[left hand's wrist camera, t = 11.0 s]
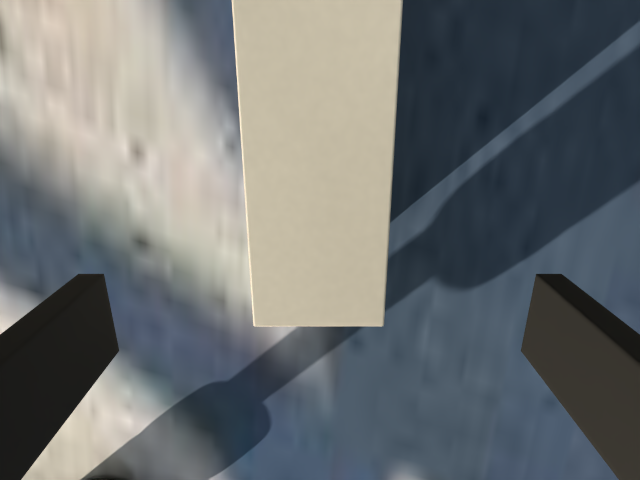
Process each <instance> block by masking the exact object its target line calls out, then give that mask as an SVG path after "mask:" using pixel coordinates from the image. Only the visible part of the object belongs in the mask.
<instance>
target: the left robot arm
mask: <svg viewBox="0 0 640 480" xmlns="http://www.w3.org/2000/svg"><path fill="white" fill-rule="evenodd" d="M118 352H119V348H118V343H117V338H116V333H115V328H114V323H113V318H112V313H111V308H110V303H109V298H108V293H107V288H106V282H105V277H104V274H78V275H77V276H75V277H74V278H73V279H71V280H70V281H69V282H68V283H66V284H65V285H64V286H62V287H61V288H60V289H59V290H57V291H56V292H55V293H53V294H52V295H51V296H50V297H48V298H47V299H46V300H44V301H43V302H42V303H41V304H39V305H38V306H37V307H35V308H34V309H33V310H31V311H30V312H29V313H28V314H26V315H25V316H24V317H22V318H21V319H20V320H19V321H17V322H16V323H15V324H13V325H12V326H11V327H10V328H8V329H7V330H6V331H4V332H3V333H2V334H1V335H0V480H21V479H22V478H23V476H24V475H25V474H26V472H27V471H28V470H29V468H30V467H31V466H32V464H33V463H34V462H35V461H36V459H37V458H38V457H39V455H40V454H41V453H42V451H43V450H44V449H45V447H46V446H47V445H48V443H49V442H50V441H51V440H52V438H53V437H54V436H55V434H56V433H57V432H58V430H59V429H60V428H61V426H62V425H63V424H64V422H65V421H66V420H67V419H68V417H69V416H70V415H71V413H72V412H73V411H74V409H75V408H76V407H77V405H78V404H79V403H80V401H81V400H82V399H83V397H84V396H85V395H86V394H87V392H88V391H89V390H90V388H91V387H92V386H93V384H94V383H95V382H96V380H97V379H98V378H99V376H100V375H101V374H102V373H103V371H104V370H105V369H106V367H107V366H108V365H109V363H110V362H111V361H112V359H113V358H114V357H115V355H116V354H117V353H118ZM521 352H522V353H523V354H524V355H525V357H526V358H527V359H528V361H529V362H530V363H531V365H532V366H533V367H534V369H535V370H536V371H537V373H538V374H539V375H540V376H541V378H542V379H543V380H544V382H545V383H546V384H547V386H548V387H549V388H550V390H551V391H552V392H553V394H554V395H555V396H556V397H557V399H558V400H559V401H560V403H561V404H562V405H563V407H564V408H565V409H566V411H567V412H568V413H569V415H570V416H571V417H572V419H573V420H574V421H575V422H576V424H577V425H578V426H579V428H580V429H581V430H582V432H583V433H584V434H585V436H586V437H587V438H588V440H589V441H590V442H591V443H592V445H593V446H594V447H595V449H596V450H597V451H598V453H599V454H600V455H601V457H602V458H603V459H604V461H605V462H606V463H607V464H608V466H609V467H610V468H611V470H612V471H613V472H614V474H615V475H616V476H617V478H618V479H619V480H640V335H639V334H638V333H637V332H636V331H634V330H633V329H632V328H630V327H629V326H628V325H627V324H625V323H624V322H623V321H621V320H620V319H619V318H618V317H616V316H615V315H614V314H612V313H611V312H610V311H609V310H607V309H606V308H605V307H603V306H602V305H601V304H599V303H598V302H597V301H596V300H594V299H593V298H592V297H590V296H589V295H588V294H587V293H585V292H584V291H583V290H581V289H580V288H579V287H578V286H576V285H575V284H574V283H572V282H571V281H570V280H569V279H567V278H566V277H565V276H563V275H562V274H536V277H535V282H534V288H533V293H532V298H531V303H530V308H529V313H528V318H527V323H526V328H525V333H524V338H523V343H522V348H521Z"/></svg>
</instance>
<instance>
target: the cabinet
mask: <svg viewBox="0 0 640 480" xmlns="http://www.w3.org/2000/svg"><path fill="white" fill-rule="evenodd" d="M402 7H403V0H232V10H233V25H234V40H235V55H236V70H237V85H238V100H239V115H240V130H241V145H242V160H243V175H244V190H245V205H246V220H247V235H248V250H249V265H250V280H251V295H252V310H253V325H254V326H383V325H384V314H385V297H386V280H387V263H388V246H389V229H390V211H391V194H392V177H393V160H394V143H395V126H396V109H397V92H398V75H399V58H400V41H401V24H402Z"/></svg>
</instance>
